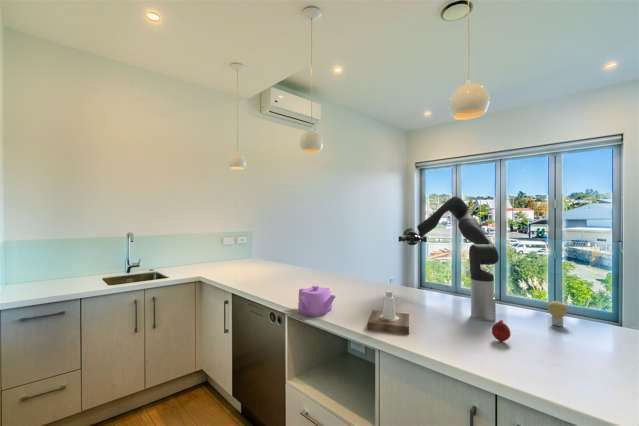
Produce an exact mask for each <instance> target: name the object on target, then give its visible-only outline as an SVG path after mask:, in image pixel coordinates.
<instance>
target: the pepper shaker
mask: <svg viewBox="0 0 639 426" xmlns="http://www.w3.org/2000/svg"><path fill="white" fill-rule="evenodd" d="M383 301H384V303H383V310H382V311H383V317H384V318H385V319H395V317H396V315H395V312H396V308H395V297H393V291H392V290H385V296H384V300H383Z"/></svg>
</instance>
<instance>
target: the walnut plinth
mask: <svg viewBox="0 0 639 426" xmlns="http://www.w3.org/2000/svg"><path fill="white" fill-rule="evenodd" d="M395 315H396V317H395V319H385V318H384V317H383V310H374V309H372V310H371V313H370V315H369V318H368V321H367V331H375V332H384V333H385V332H386V333H393V334H402V335H410V314H409V313H406V312H396V311H395Z"/></svg>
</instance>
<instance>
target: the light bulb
mask: <svg viewBox="0 0 639 426" xmlns="http://www.w3.org/2000/svg"><path fill="white" fill-rule="evenodd" d="M547 310H548V313H549V314H550V315H551V324H552V325H554V326H556V327H563V326H564V317H565V316H566V315H567V314H568V308H567V306H566V305H565V304H564V303H563V302H561V301H559V300H552V301H550V302H548V304H547Z"/></svg>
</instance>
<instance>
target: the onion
mask: <svg viewBox="0 0 639 426" xmlns="http://www.w3.org/2000/svg"><path fill="white" fill-rule="evenodd" d="M491 334H492V335H493V337H494V339H496V340H497V342H500V343H503V342H505V341H507V340H509V339H510V337H511V330H510V328H509V326H508V325H507V324H506V323H504V321H503V320H502V319H499V320H498V321H497V322H495V323H494V324H493V325H492V327H491Z"/></svg>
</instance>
